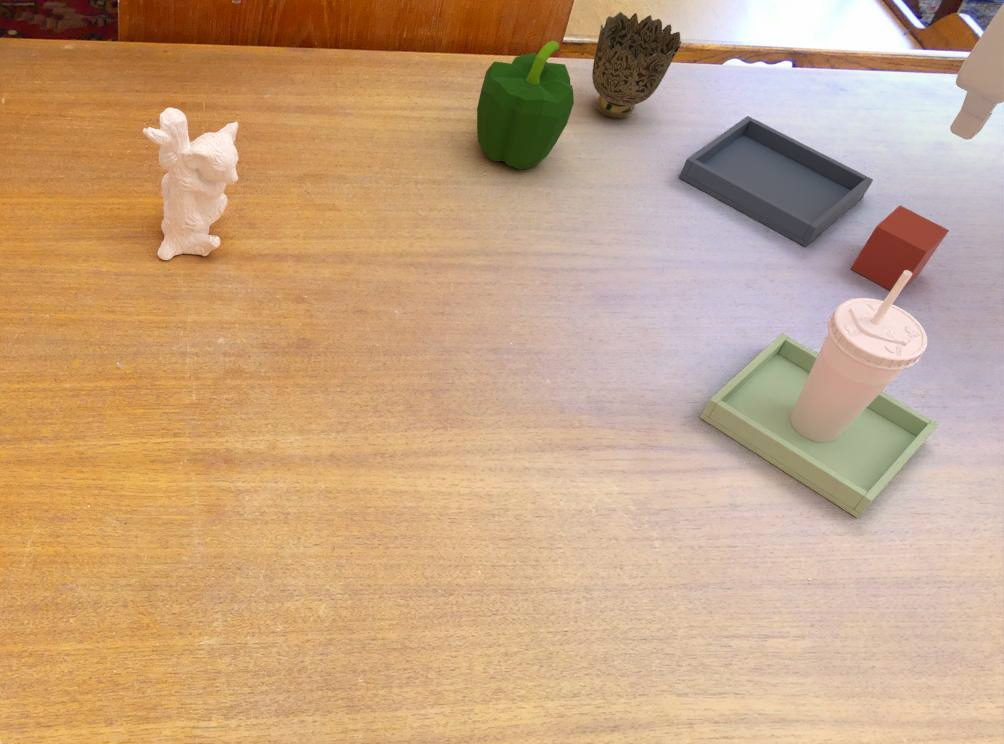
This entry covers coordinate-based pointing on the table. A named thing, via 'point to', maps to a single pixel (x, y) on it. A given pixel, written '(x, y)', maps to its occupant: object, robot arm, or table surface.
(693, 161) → the block tray
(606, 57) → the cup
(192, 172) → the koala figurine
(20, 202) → the table surface
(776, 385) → the tray
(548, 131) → the bell pepper
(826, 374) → the smoothie
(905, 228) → the block
